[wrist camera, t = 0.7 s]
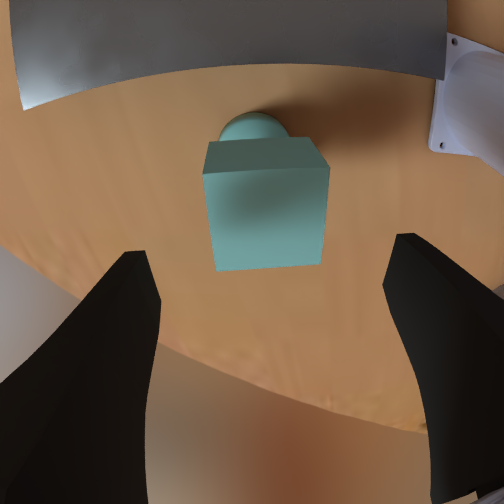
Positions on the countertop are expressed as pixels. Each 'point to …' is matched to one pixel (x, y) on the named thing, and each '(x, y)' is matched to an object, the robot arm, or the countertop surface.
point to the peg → (264, 196)
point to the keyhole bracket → (215, 38)
